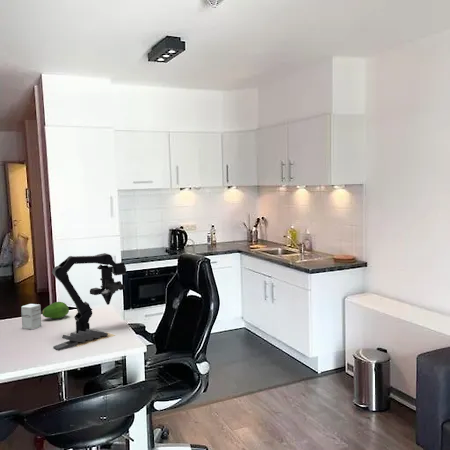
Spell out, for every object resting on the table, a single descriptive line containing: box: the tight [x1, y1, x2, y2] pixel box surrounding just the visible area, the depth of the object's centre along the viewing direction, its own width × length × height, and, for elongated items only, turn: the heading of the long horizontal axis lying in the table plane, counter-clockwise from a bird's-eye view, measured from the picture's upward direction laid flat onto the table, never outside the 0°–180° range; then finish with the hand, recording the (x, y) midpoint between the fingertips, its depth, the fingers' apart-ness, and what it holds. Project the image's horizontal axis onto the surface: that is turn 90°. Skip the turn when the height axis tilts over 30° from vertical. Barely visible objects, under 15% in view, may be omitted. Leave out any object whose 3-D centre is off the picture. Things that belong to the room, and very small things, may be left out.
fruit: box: [41, 301, 70, 320], centre depth 276 cm, size 15×10×10 cm, turn 120°
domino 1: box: [52, 340, 78, 351], centre depth 224 cm, size 2×5×10 cm
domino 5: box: [86, 329, 109, 336], centre depth 236 cm, size 2×5×10 cm
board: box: [75, 331, 117, 348], centre depth 235 cm, size 22×9×1 cm, turn 137°
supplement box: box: [20, 303, 42, 330], centre depth 259 cm, size 7×7×13 cm
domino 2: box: [61, 334, 85, 343], centre depth 227 cm, size 2×5×10 cm
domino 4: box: [78, 331, 101, 339], centre depth 233 cm, size 2×5×10 cm
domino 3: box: [69, 332, 93, 341], centre depth 230 cm, size 2×5×10 cm
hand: (108, 304), depth 255 cm, fingers closed
